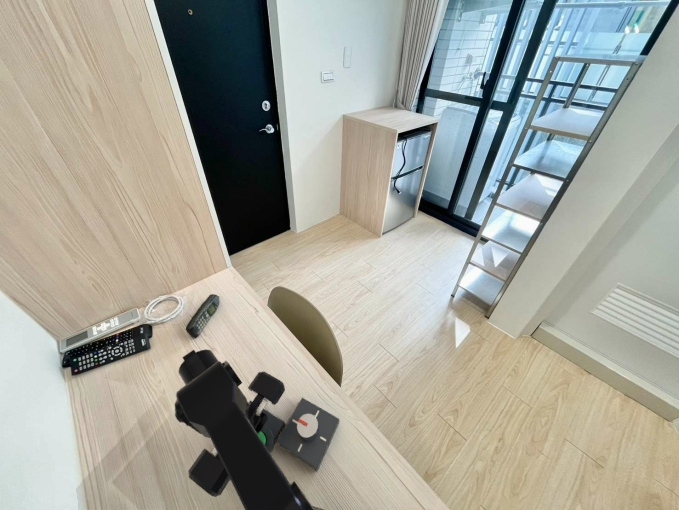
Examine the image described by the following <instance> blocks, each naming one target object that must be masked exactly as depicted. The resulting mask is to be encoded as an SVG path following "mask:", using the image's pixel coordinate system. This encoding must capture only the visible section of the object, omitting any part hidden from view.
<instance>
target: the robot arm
mask: <svg viewBox="0 0 679 510" xmlns="http://www.w3.org/2000/svg"><path fill="white" fill-rule="evenodd" d="M182 360H183V361H182V363H181V364H180V365H179V368H178V375H179V376H180V379H181V380H182V381H183V384H184V386H182V387H181V388H180V389H178V391H176V393H175V397H176V400H175V402H174V417H175V418H176V420H177V421H178V422H179V423H183V424H185V425H186V426H187V427H190V428H191V429H193V431H195V432H197V433H198V434H200V435H202V436H203V437H204V438H207V439H210V440H211V442H212V445H213V446H214V448H213V449H212V451H211V452H210V451H209V450H208V449H206V448H203V449H202V450H201V452H200V454H199V456H198V457H197V458H196V460H195V461H194V462H193V463H192V465H191V466H190V468H189V469H188V478H189V480H191V481H192V482H193V483H195V484H196V485H197V486H198V487H199V488H200V489H202V490H203V491H204V492H206V493H207V495H210V496H211V497H214V498H216V497H219V496H221V495H222V493H223V492H224V490H225V489H226V487H227V486H228V484H229V482H230V481H231V484H232V487H234V490H235V492H236V494H237V496H238V498H239V500H240V502H241V504H242V506H243V509H244V510H325V509H324V508H321V507H317V506H314V505H312V503H311V502H310V501H309V499H308V498H307V497H306V495H305V493H304V492H303V491H302V489H301V488H300V486H299V485H298V484H297V482H296V481H295V480H294V481H293V482H292V483H290V481H289V479H287V476H286V475H285V473H284V472H283V471H282V469H281V468H280V465H279V464H278V463H277V461H276V460H275V458H274V457H273V455H272V454H271V453H270V452H269V451H268V449H267V448H266V446H265V444H264V443H263V441H262V440H261V438H260V437H259V435H258V434H259V433H260V431H261V430H262V428H263V426H264V425H265V423H266V421H267V420H268V416H267V415H266V414H265V413H263V412H262V410H263V409H265V407H266V406H267V404H268V402H270V403H271V404H272V405H274V406H275V405H277V404H278V403H279V401H280V399H281V398H282V396H283V395H284V393H285V391H286V386H285V384H284V382H283V381H281V380H280V379H278V378H277V377H275V376H273V375H271V374H270V373H268V372H266V371H258V373H257V374H256V375H255V376H254V378H253V380H252V381H251V382H250V384H249V385H248V386H247V389H248V390H249V391H250V392H253V393H255V394H256V395H255V397H254V399H253V400H251V401H252V403H251V404H250V403H249V401H248V399H247V397H246V395H245V394H244V393H243V392H242V389H240V387H239V386H240V385H242V384H243V382H242V380H241V378H240V377H239V376H238V374H237V373H236V371H235V369H234V368H233V367H232V366H231V365H230V363H229V362H228V361H227V360H225V361H223V362H222V361H220V360H219V359H218V358H217V356H216V355H215V354H214V352H213V351H212V350H211V349H201V350H198V351H196V350H195V349H192V350H190V351H189V352H188V353H187V354H185V355H183V356H182ZM259 406H260V407H259Z"/></svg>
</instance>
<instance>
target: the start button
mask: <svg viewBox="0 0 679 510" xmlns="http://www.w3.org/2000/svg"><path fill="white" fill-rule="evenodd" d="M258 435H259V437H260V438H261V440H262V441H263V443H264V444H266V437H265V435H264V434H263V433H262V432H261V431H260V433H259V434H258Z"/></svg>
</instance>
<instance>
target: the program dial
mask: <svg viewBox="0 0 679 510" xmlns="http://www.w3.org/2000/svg"><path fill="white" fill-rule="evenodd" d="M297 431H298V433H299V435H300V437H301V439H302V440H303V441H305V442H311V441H313V440H314V439H315V438H316V437H317V435H318V433H319V426H318V421H317V419H316V417H315V416H314V415H312V414H304V415H303V416H301V417H300V418H299V420H298V423H297Z"/></svg>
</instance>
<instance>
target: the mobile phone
mask: <svg viewBox="0 0 679 510" xmlns="http://www.w3.org/2000/svg"><path fill="white" fill-rule="evenodd" d="M219 304H220V296H219V295H217V294H213V293H210V294H209V295H208V297H206V299H205V300H204V301H203V302H202V303H201V305H200V306H199V307H198V308H197V310H196V312H194V314H193V316H191V318H190V319H189V321H188V323H187V324H186V327H185V331H186V333H187V334H188V335H189V336H190V337H191V338H193V339H197V338H198V337H199V336H200V334H201V332H203V330H204V328H205V326H206V325H207V324H208V322H209V321H210V319H211V318H212V317H213V315H214V314H215V313H216V312H217V309H218V307H219Z"/></svg>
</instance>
